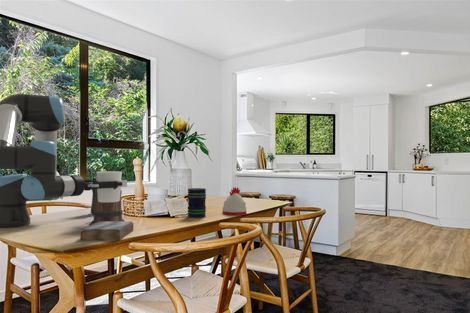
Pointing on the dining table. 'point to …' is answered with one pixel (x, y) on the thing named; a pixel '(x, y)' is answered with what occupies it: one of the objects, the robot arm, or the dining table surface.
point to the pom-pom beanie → (234, 204)
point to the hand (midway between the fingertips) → (117, 182)
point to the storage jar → (196, 202)
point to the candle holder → (109, 193)
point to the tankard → (107, 210)
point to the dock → (106, 230)
